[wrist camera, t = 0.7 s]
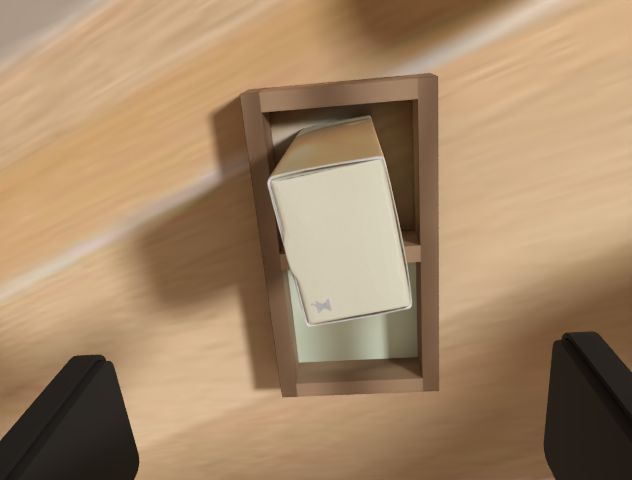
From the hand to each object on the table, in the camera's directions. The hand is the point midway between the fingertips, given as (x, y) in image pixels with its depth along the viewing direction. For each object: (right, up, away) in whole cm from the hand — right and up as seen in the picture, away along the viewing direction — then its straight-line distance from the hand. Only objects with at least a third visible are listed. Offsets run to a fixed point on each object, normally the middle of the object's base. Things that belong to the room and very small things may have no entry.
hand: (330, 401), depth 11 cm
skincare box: (+1, +8, +19) cm, 21 cm away
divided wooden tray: (+2, +3, +21) cm, 21 cm away
